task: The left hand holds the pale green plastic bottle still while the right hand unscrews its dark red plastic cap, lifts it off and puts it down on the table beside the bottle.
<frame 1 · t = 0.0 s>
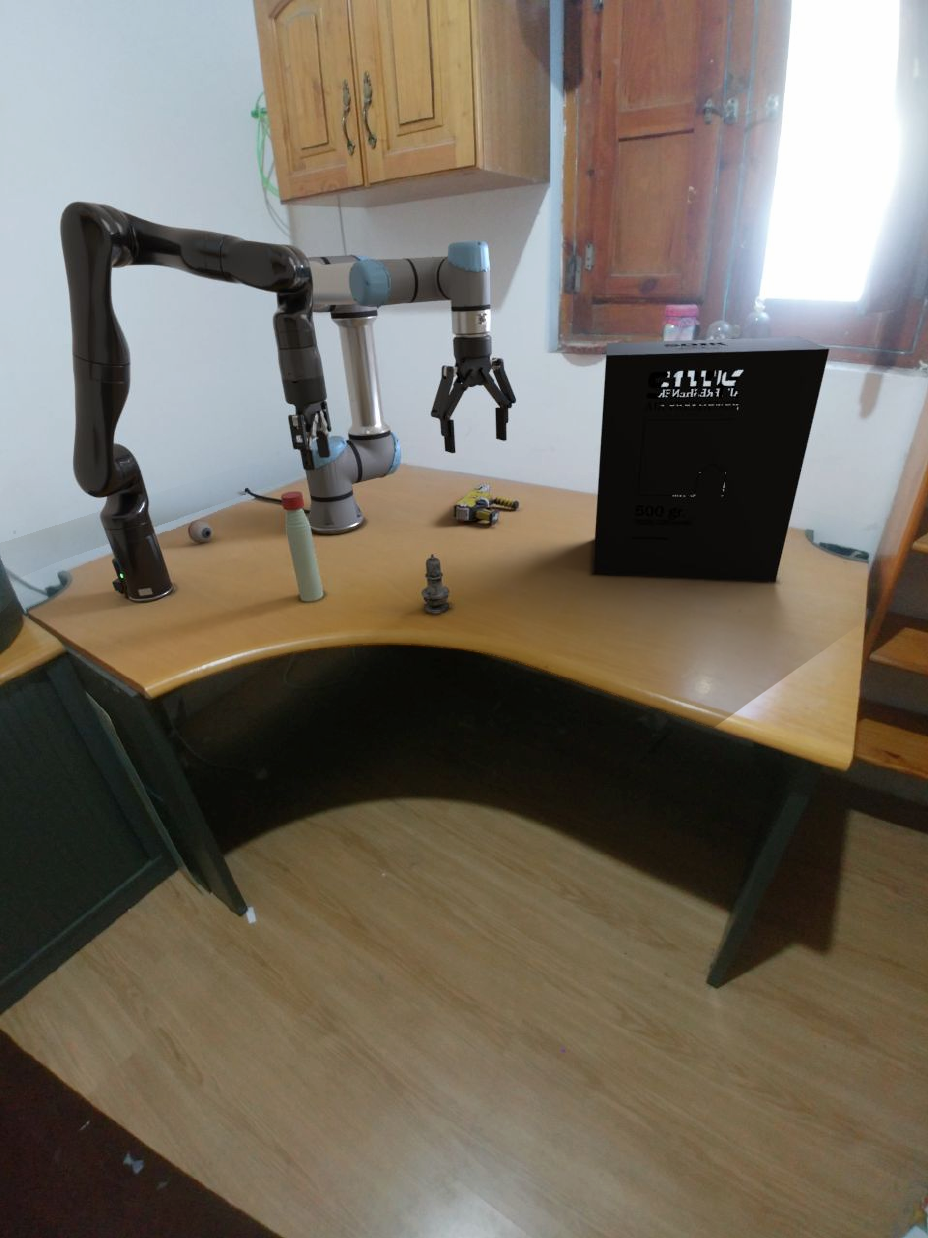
left hand: (317, 463, 117), 29 cm above the table, tool pointing down, fingers open, 8 cm apart
right hand: (476, 445, 127), 28 cm above the table, tool pointing down, fingers open, 13 cm apart
eyeball: (203, 542, 163), on the table
toy gun: (491, 511, 173), on the table
grey tiered upright piece: (436, 608, 125), on the table
cardboard box: (677, 559, 139), on the table
cap: (291, 496, 121), point 23 cm above the table, screwed on, not yet turned
bottle: (311, 596, 132), on the table
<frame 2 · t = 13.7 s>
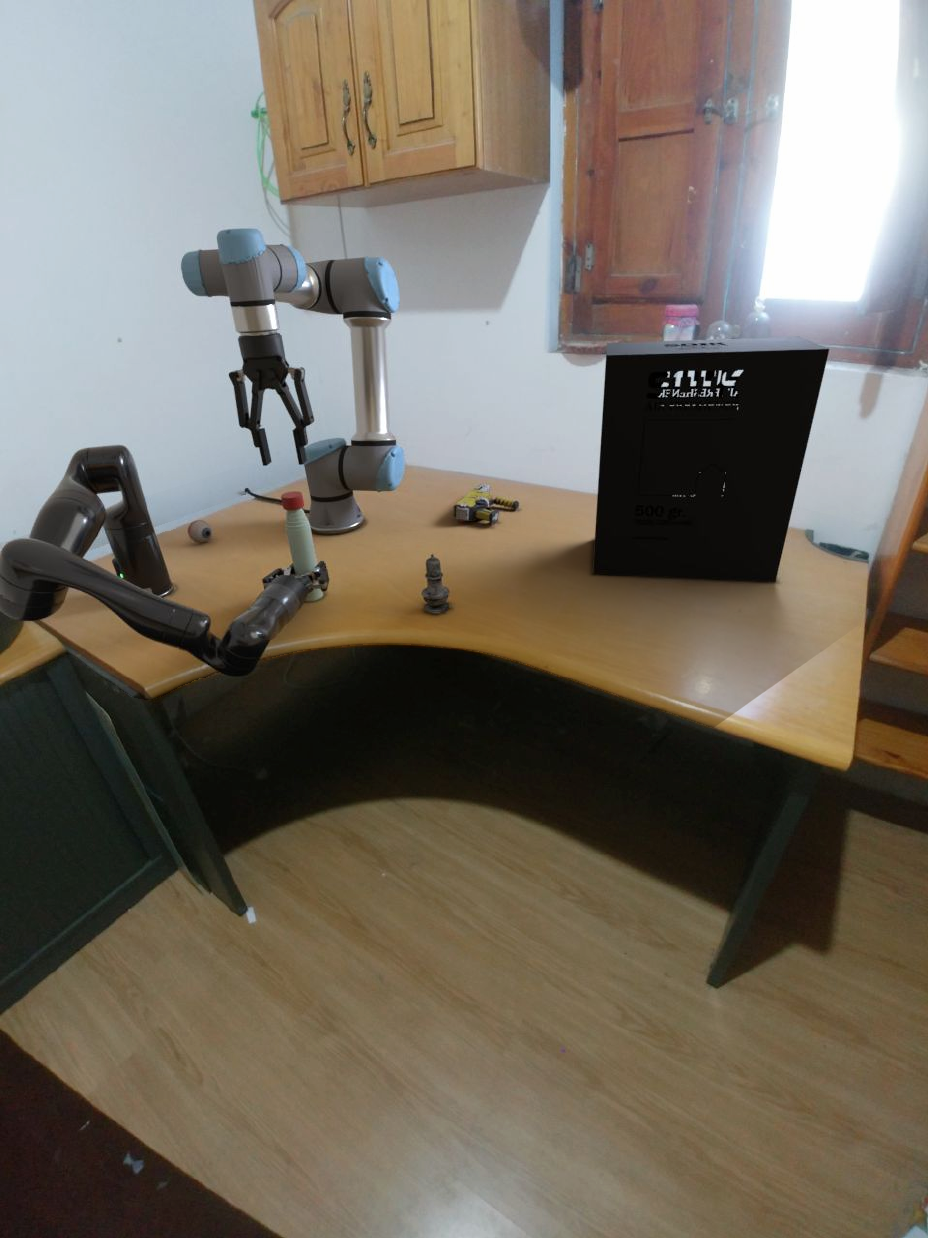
left hand: (311, 564, 131), 6 cm above the table, tool horizontal, fingers closed on bottle, 5 cm apart
right hand: (285, 462, 118), 29 cm above the table, tool pointing down, fingers open, 6 cm apart
bottle: (311, 596, 132), on the table, touching left hand
everything else where it was.
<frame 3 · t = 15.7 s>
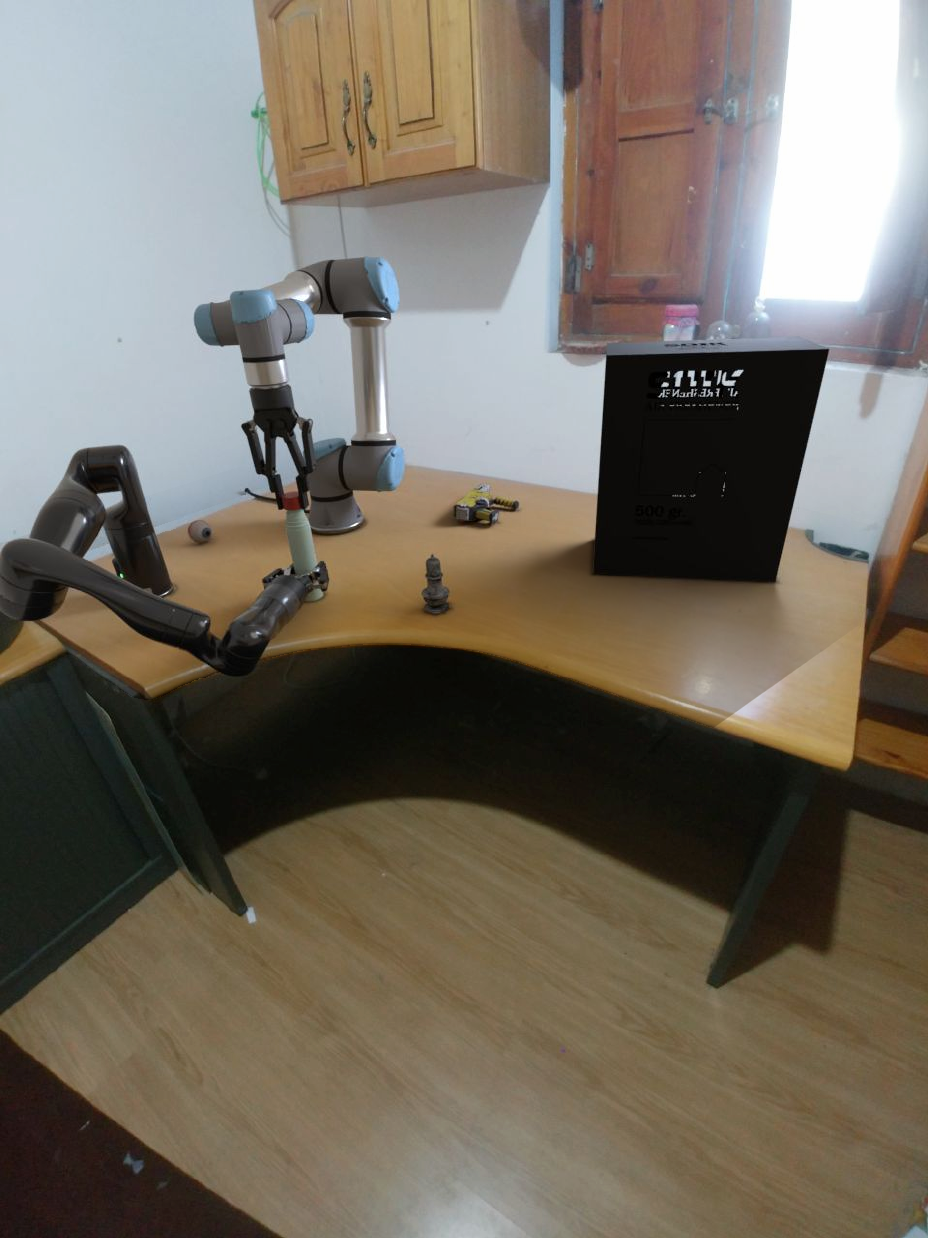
left hand: (311, 564, 131), 6 cm above the table, tool horizontal, fingers closed on bottle, 5 cm apart
right hand: (293, 507, 122), 20 cm above the table, tool pointing down, fingers closed on cap, 4 cm apart
cap: (291, 496, 121), point 23 cm above the table, screwed on, not yet turned, touching right hand
bottle: (311, 596, 132), on the table, touching left hand
everything else where it was.
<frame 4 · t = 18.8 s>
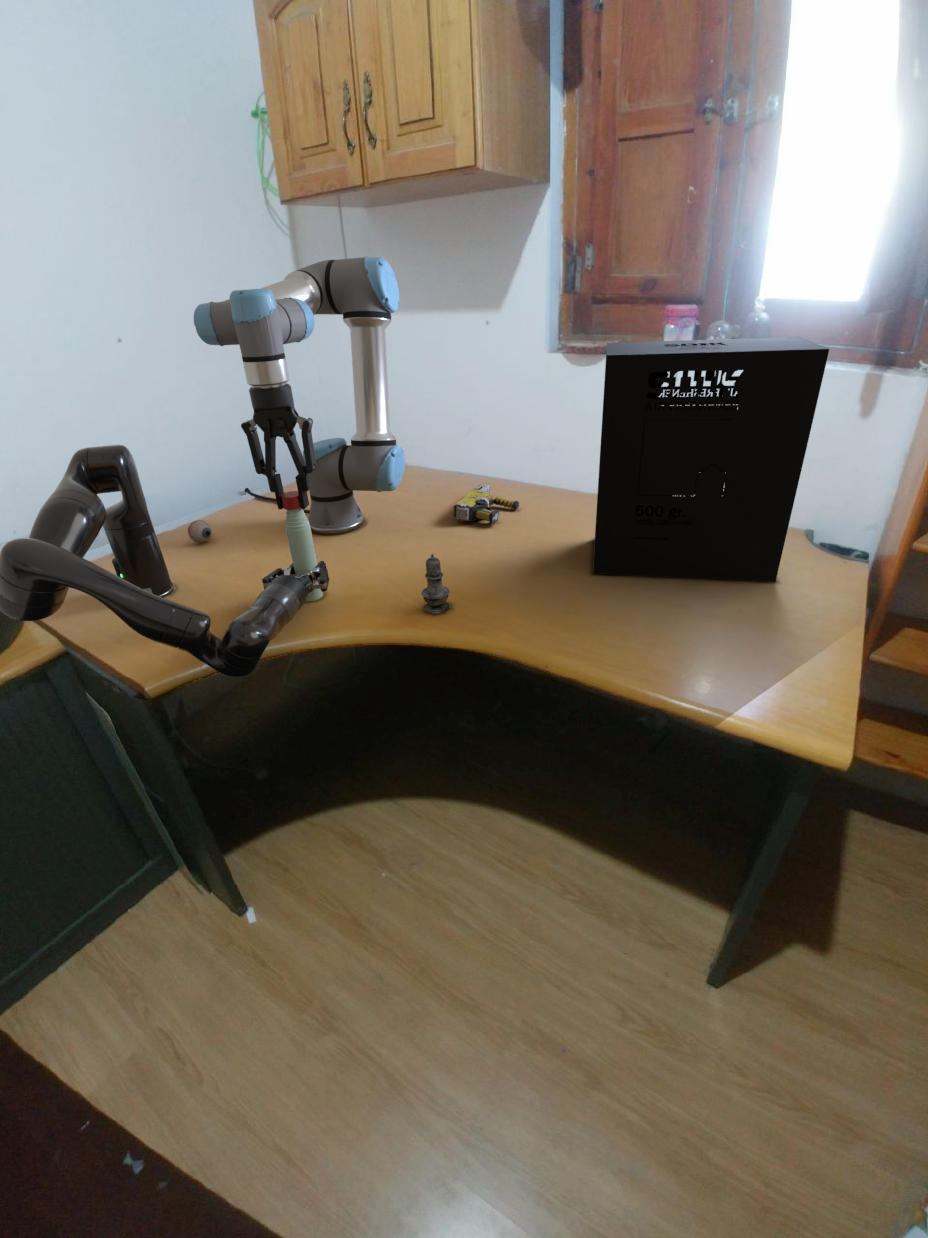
left hand: (310, 564, 131), 6 cm above the table, tool horizontal, fingers closed on bottle, 5 cm apart
right hand: (293, 506, 122), 21 cm above the table, tool pointing down, fingers closed on cap, 4 cm apart
cap: (291, 495, 121), point 23 cm above the table, turned 95° so far, risen 0.1 cm, still on its thread, touching right hand
bottle: (311, 596, 132), on the table, touching left hand
everything else where it was.
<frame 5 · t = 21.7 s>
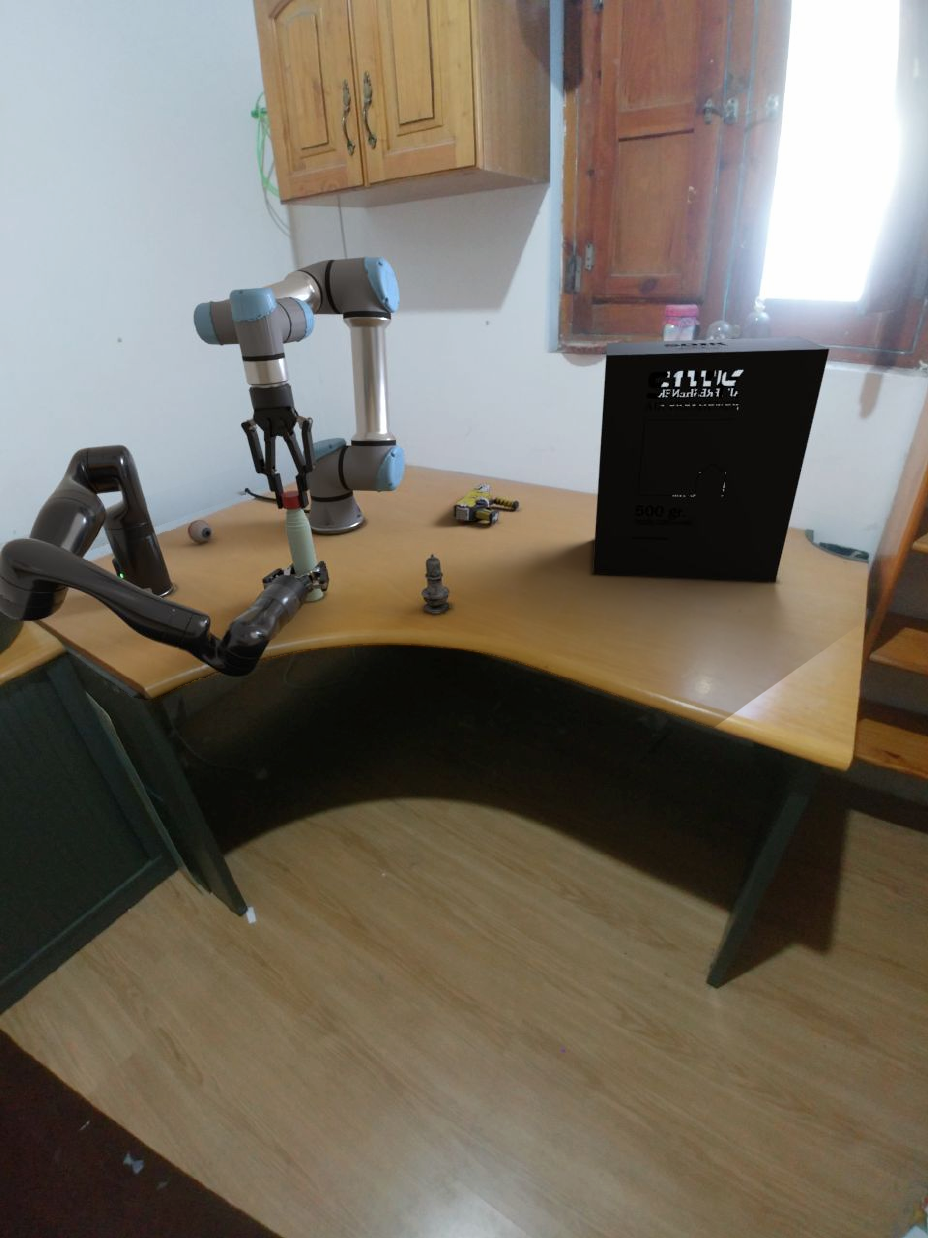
left hand: (310, 564, 131), 6 cm above the table, tool horizontal, fingers closed on bottle, 5 cm apart
right hand: (293, 506, 122), 21 cm above the table, tool pointing down, fingers closed on cap, 4 cm apart
cap: (291, 495, 121), point 23 cm above the table, turned 190° so far, risen 0.2 cm, still on its thread, touching right hand
bottle: (311, 596, 132), on the table, touching left hand
everything else where it was.
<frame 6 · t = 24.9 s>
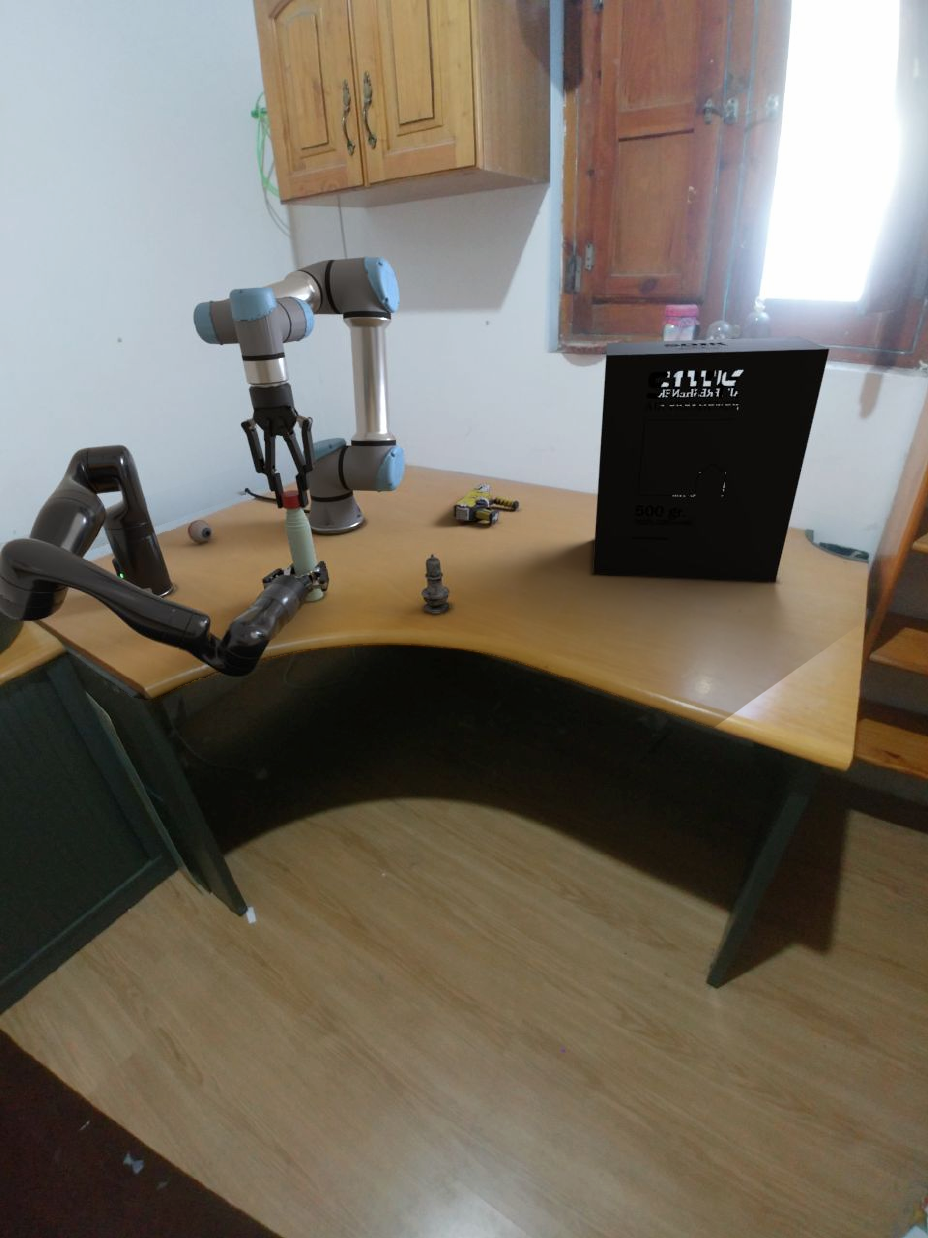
left hand: (310, 564, 131), 6 cm above the table, tool horizontal, fingers closed on bottle, 5 cm apart
right hand: (293, 505, 122), 21 cm above the table, tool pointing down, fingers closed on cap, 4 cm apart
cap: (291, 494, 121), point 23 cm above the table, turned 285° so far, risen 0.3 cm, still on its thread, touching right hand
bottle: (311, 596, 132), on the table, touching left hand
everything else where it was.
when the right hand's fingers open (1 cm above the table, at t = 33.1 s): cap drops 1 cm, point 2 cm above the table.
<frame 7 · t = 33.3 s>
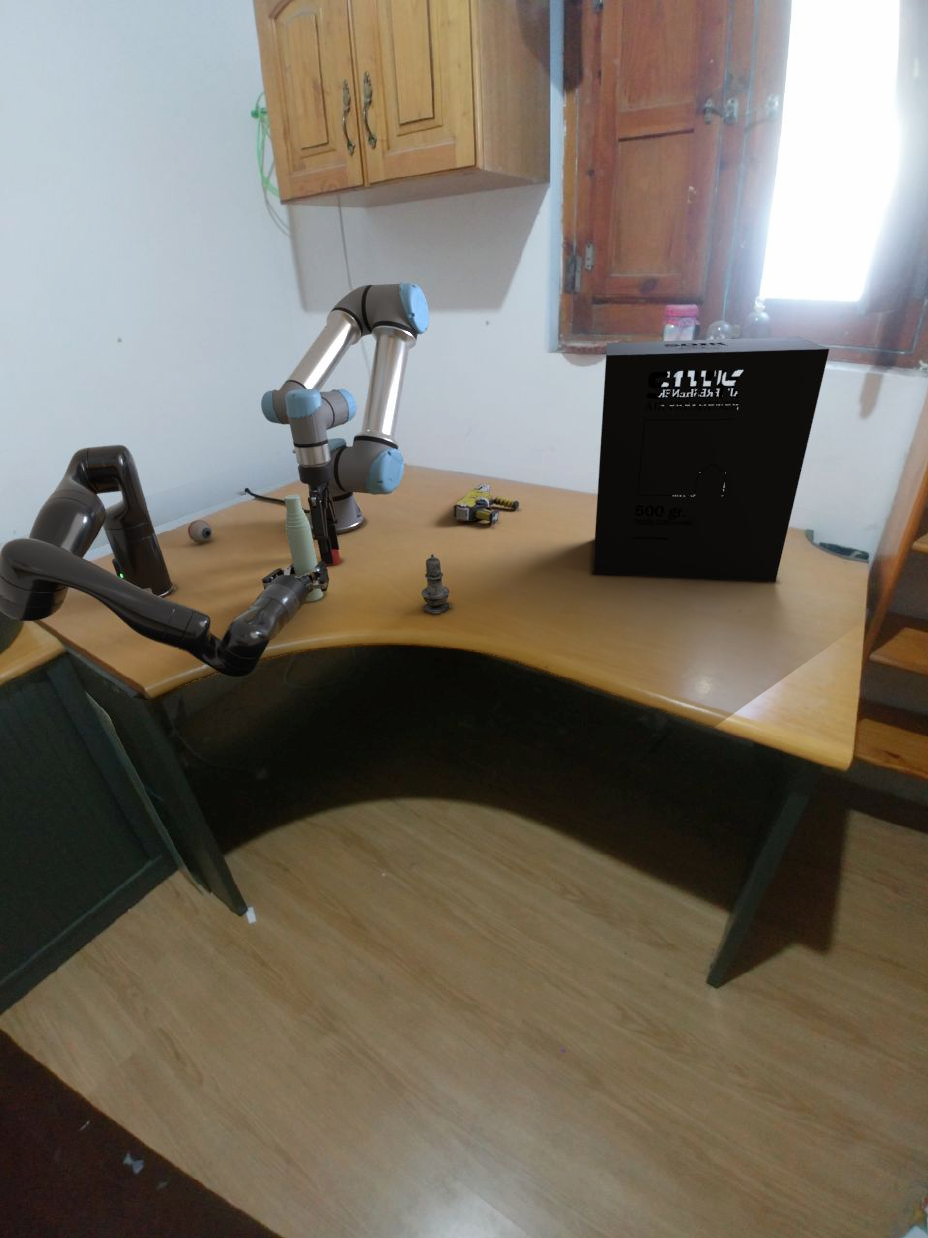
left hand: (310, 564, 131), 6 cm above the table, tool horizontal, fingers closed on bottle, 5 cm apart
right hand: (330, 556, 147), 2 cm above the table, tool pointing down, fingers open, 7 cm apart
cap: (330, 553, 146), point 2 cm above the table, off its thread
bottle: (311, 596, 132), on the table, touching left hand
everything else where it was.
when the left hand's fingers open (6 cm above the table, at t = 34.4 s): bottle stays where it is, on the table.
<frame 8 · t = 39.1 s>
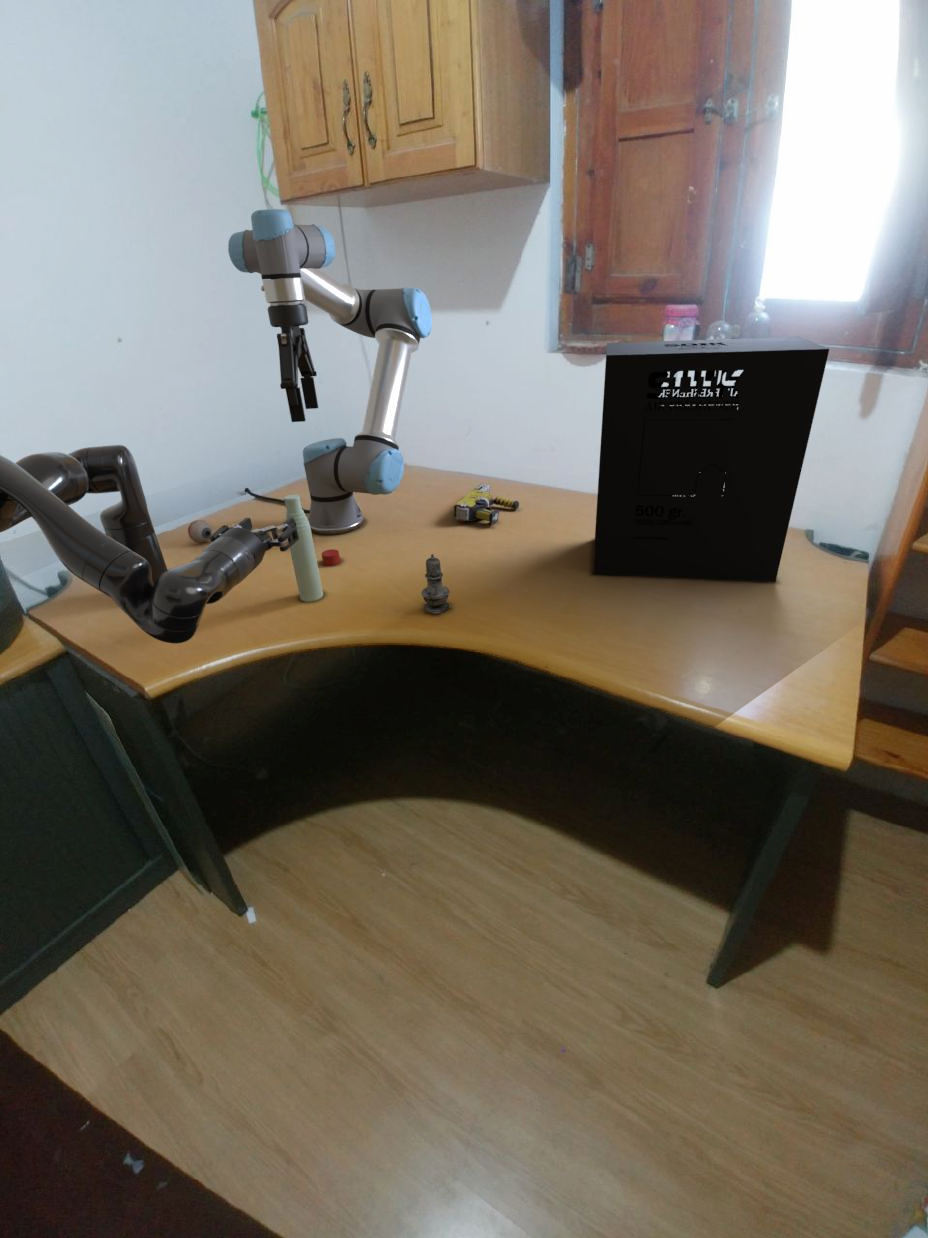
left hand: (271, 522, 113), 21 cm above the table, tool horizontal, fingers open, 8 cm apart
right hand: (305, 414, 130), 35 cm above the table, tool pointing down, fingers open, 13 cm apart
bottle: (311, 596, 132), on the table
everything else where it was.
at the end: cap came off its thread; cap point 2.3 cm above the table; the left hand is holding nothing; the right hand is holding nothing; bottle tilted 0°; bottle moved 0.1 cm from its start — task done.
